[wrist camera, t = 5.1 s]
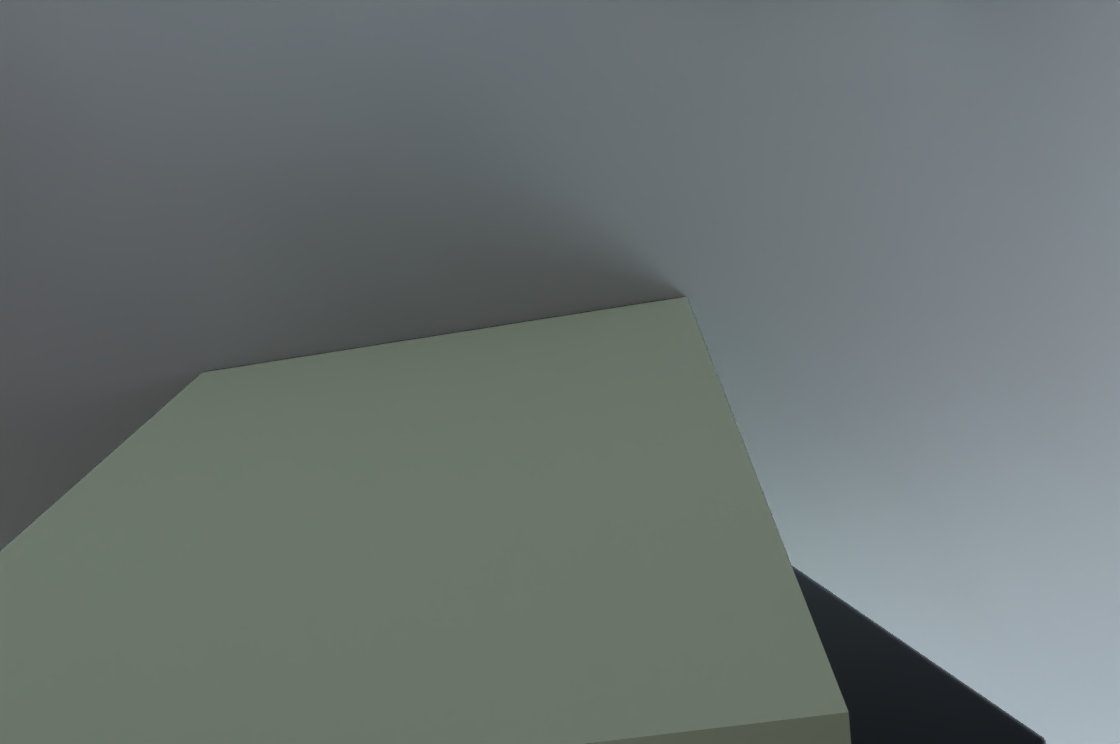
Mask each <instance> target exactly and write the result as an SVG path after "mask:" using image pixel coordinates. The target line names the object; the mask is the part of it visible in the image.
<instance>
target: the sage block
mask: <svg viewBox="0 0 1120 744" xmlns="http://www.w3.org/2000/svg"><path fill="white" fill-rule="evenodd" d="M0 744H851V735H850V723H849V712H848V709H847V707H846V704H845V702H844V699H843V696H842V694H841V691H840V689H839V686H838V684H837V681H836V678H835V676H834V673H833V671H832V668H831V666H830V663H829V660H828V658H827V655H826V653H825V650H824V648H823V645H822V643H821V640H820V637H819V635H818V632H817V630H816V627H815V625H814V622H813V619H812V617H811V614H810V612H809V609H808V607H807V604H806V601H805V599H804V596H803V594H802V591H801V589H800V586H799V584H798V581H797V578H796V576H795V573H794V571H793V568H792V566H791V563H790V560H789V558H788V555H787V553H786V550H785V548H784V545H783V542H782V540H781V537H780V535H779V532H778V530H777V527H776V525H775V522H774V519H773V517H772V514H771V512H770V509H769V507H768V504H767V501H766V499H765V496H764V494H763V491H762V489H761V486H760V484H759V481H758V478H757V476H756V473H755V471H754V468H753V466H752V463H751V460H750V458H749V455H748V453H747V450H746V448H745V445H744V442H743V440H742V437H741V435H740V432H739V430H738V427H737V425H736V422H735V419H734V417H733V414H732V412H731V409H730V407H729V404H728V401H727V399H726V396H725V394H724V391H723V389H722V386H721V383H720V381H719V378H718V376H717V373H716V371H715V368H714V366H713V363H712V360H711V358H710V355H709V353H708V350H707V348H706V345H705V342H704V340H703V337H702V335H701V332H700V330H699V327H698V324H697V322H696V319H695V317H694V314H693V312H692V309H691V307H690V304H689V301H688V299H687V297H681V298H675V299H668V300H662V301H655V302H649V303H643V304H636V305H630V306H623V307H617V308H611V309H604V310H598V311H592V312H585V313H579V314H572V315H566V316H560V317H553V318H547V319H540V320H534V321H528V322H521V323H515V324H509V325H502V326H496V327H489V328H483V329H477V330H470V331H464V332H457V333H451V334H445V335H438V336H432V337H426V338H419V339H413V340H406V341H400V342H394V343H387V344H381V345H374V346H368V347H362V348H355V349H349V350H343V351H336V352H330V353H323V354H317V355H311V356H304V357H298V358H291V359H285V360H279V361H272V362H266V363H260V364H253V365H247V366H240V367H234V368H228V369H221V370H215V371H209V372H202V373H201V374H200V375H199V376H198V377H196V378H195V379H194V380H193V381H192V382H191V383H190V384H189V385H187V386H186V387H185V388H184V389H183V390H182V391H181V392H180V393H178V394H177V395H176V396H175V397H174V398H173V399H172V400H170V401H169V402H168V403H167V404H166V405H165V406H164V407H163V408H161V409H160V410H159V411H158V412H157V413H156V414H155V415H154V416H152V417H151V418H150V419H149V420H148V421H147V422H146V423H144V424H143V425H142V426H141V427H140V428H139V429H138V430H137V431H135V432H134V433H133V434H132V435H131V436H130V437H129V438H128V439H126V440H125V441H124V442H123V443H122V444H121V445H120V446H118V447H117V448H116V449H115V450H114V451H113V452H112V453H111V454H109V455H108V456H107V457H106V458H105V459H104V460H103V461H102V462H100V463H99V464H98V465H97V466H96V467H95V468H94V469H92V470H91V471H90V472H89V473H88V474H87V475H86V476H85V477H83V478H82V479H81V480H80V481H79V482H78V483H77V484H76V485H74V486H73V487H72V488H71V489H70V490H69V491H68V492H66V493H65V494H64V495H63V496H62V497H61V498H60V499H59V500H57V501H56V502H55V503H54V504H53V505H52V506H51V507H50V508H48V509H47V510H46V511H45V512H44V513H43V514H42V515H40V516H39V517H38V518H37V519H36V520H35V521H34V522H33V523H31V524H30V525H29V526H28V527H27V528H26V529H25V530H24V531H22V532H21V533H20V534H19V535H18V536H17V537H16V538H14V539H13V540H12V541H11V542H10V543H9V544H8V545H7V546H5V547H4V548H3V549H2V550H1V551H0Z"/></svg>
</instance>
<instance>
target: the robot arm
mask: <svg viewBox="0 0 1120 744" xmlns="http://www.w3.org/2000/svg"><path fill="white" fill-rule="evenodd" d="M791 566H792V565H791ZM792 568H793V571H794V573H795V576H796V578H797V581H798V584H799V586H800V589H801V591H802V594H803V596H804V599H805V601H806V604H807V607H808V609H809V612H810V614H811V617H812V619H813V622H814V625H815V627H816V630H817V632H818V635H819V637H820V640H821V643H822V645H823V648H824V650H825V653H826V655H827V658H828V660H829V663H830V666H831V668H832V671H833V673H834V676H835V678H836V681H837V684H838V686H839V689H840V691H841V694H842V696H843V699H844V702H845V704H846V707H847V709H848V712H849V723H850V735H851V744H1046V741H1045V740H1044V738H1043V737H1041V736H1040V735H1039V734H1037V733H1036V732H1034V731H1033V730H1031V729H1030V728H1028V727H1027V726H1025V725H1024V724H1023V723H1021V722H1020V721H1018V720H1017V719H1015V718H1014V717H1012V716H1011V715H1009V714H1008V713H1006V712H1005V711H1004V710H1002V709H1001V708H999V707H998V706H996V705H995V704H993V703H992V702H990V701H989V700H987V699H986V698H985V697H983V696H982V695H980V694H979V693H977V692H976V691H974V690H973V689H971V688H970V687H968V686H967V685H966V684H964V683H963V682H961V681H960V680H958V679H957V678H955V677H954V676H952V675H951V674H950V673H948V672H947V671H945V670H944V669H942V668H941V667H939V666H938V665H936V664H935V663H933V662H932V661H931V660H929V659H928V658H926V657H925V656H923V655H922V654H920V653H919V652H917V651H916V650H914V649H913V648H912V647H910V646H909V645H907V644H906V643H904V642H903V641H901V640H900V639H898V638H897V637H895V636H894V635H893V634H891V633H890V632H888V631H887V630H885V629H884V628H882V627H881V626H879V625H878V624H877V623H875V622H874V621H872V620H871V619H869V618H868V617H866V616H865V615H863V614H862V613H860V612H859V611H858V610H856V609H855V608H853V607H852V606H850V605H849V604H847V603H846V602H844V601H843V600H841V599H840V598H839V597H837V596H836V595H834V594H833V593H831V592H830V591H828V590H827V589H825V588H824V587H822V586H821V585H820V584H818V583H817V582H815V581H814V580H812V579H811V578H809V577H808V576H806V575H805V574H804V573H802V572H801V571H799V570H798V569H796V568H795V567H793V566H792Z"/></svg>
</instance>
